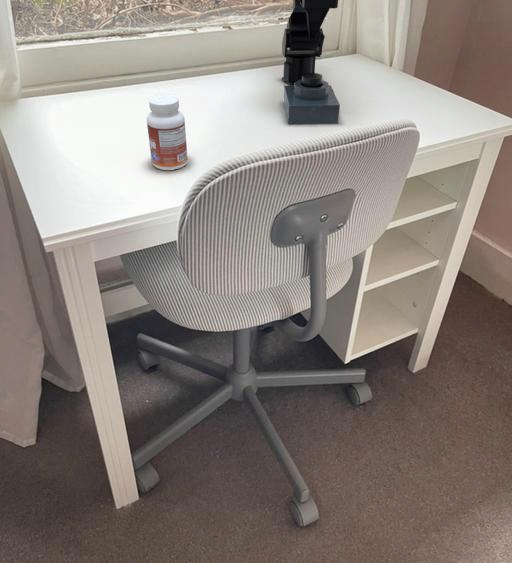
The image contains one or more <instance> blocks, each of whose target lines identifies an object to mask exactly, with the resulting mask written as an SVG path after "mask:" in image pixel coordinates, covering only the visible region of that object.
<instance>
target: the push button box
mask: <svg viewBox="0 0 512 563" xmlns="http://www.w3.org/2000/svg"><path fill="white" fill-rule="evenodd" d="M283 87H284V88H283V106H284V112H285V115H286V119H287V124H288V125H338V124H339V118H340V109H341V108H340V107H341V105H340V102H339V100H338V98H337V95H336V94H335V91H334V89H333V87H332V86H331V85H330V84H329V82H327V81H325V80H323V79H322V86H321V87H317V88H309V87H304V86H302V80H298V81H296V82H295V83H294V86H292V85H284V86H283Z"/></svg>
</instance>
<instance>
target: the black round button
mask: <svg viewBox="0 0 512 563" xmlns="http://www.w3.org/2000/svg"><path fill="white" fill-rule="evenodd" d="M322 80H323V75H322V74H320V73H317V72H315V73H306V74H303V75H302V86H304V87H309V88H317V87H321V86H322Z"/></svg>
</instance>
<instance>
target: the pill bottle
mask: <svg viewBox="0 0 512 563" xmlns="http://www.w3.org/2000/svg"><path fill="white" fill-rule="evenodd" d="M148 103H149V104H148V106H149V109H150V112H149V113H148V114H147V117H146V126H147V135H148V143H149V151H150V159H151V164H152V165H153V167H155V168H157V169H158V170H162V171H174V170H178V169H181V168H183V167H184V166H186V165H187V164H188V147H187V133H186V120H185V115H184V114H183V113H182V111H180V103H179V98H178V97H177V96H175V95H173V94H157V95H155V96H152V97H150V98H149V100H148Z"/></svg>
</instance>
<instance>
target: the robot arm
mask: <svg viewBox="0 0 512 563" xmlns="http://www.w3.org/2000/svg"><path fill="white" fill-rule="evenodd" d="M338 7H339V0H292V12H291V14H290V16H289V17H288V20H287V23H286V28H284V31H283V37H282V41H281V53H282V55H283V58H285V61H284V62H283V76H281V80H282V81H283V82H285V83H286V84H288V85H289V86H294V83H295V82H296V81H298V80H302V75H303V74H306V73H316V72H315V71H316V60H317V59H316V58H321V56H322V55H323V46H324V42H325V37H326V35H325V34H324V30H323V28H322V25H323V23H324V21H325V19H326V17H327V15H328V14H329V11H330V10H331V9H337V8H338Z"/></svg>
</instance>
